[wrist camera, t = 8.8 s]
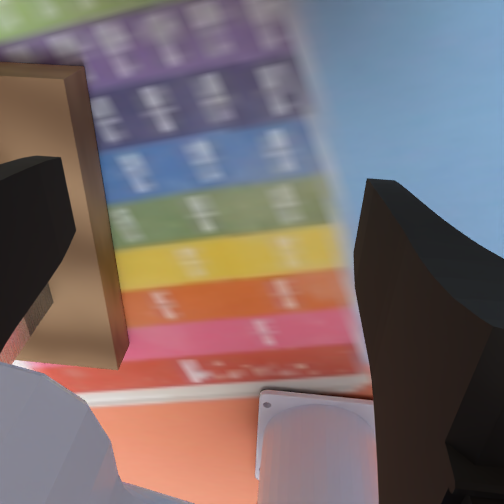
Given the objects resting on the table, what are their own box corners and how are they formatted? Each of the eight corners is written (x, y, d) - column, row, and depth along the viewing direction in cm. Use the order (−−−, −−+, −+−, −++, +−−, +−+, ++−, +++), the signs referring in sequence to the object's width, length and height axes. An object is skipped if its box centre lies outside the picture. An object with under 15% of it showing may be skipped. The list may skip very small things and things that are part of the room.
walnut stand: (129, 344, 29) (118, 370, 27) (-31, 329, 30) (-51, 353, 28) (84, 66, 20) (63, 79, 18) (-145, 53, 20) (-185, 64, 19)
